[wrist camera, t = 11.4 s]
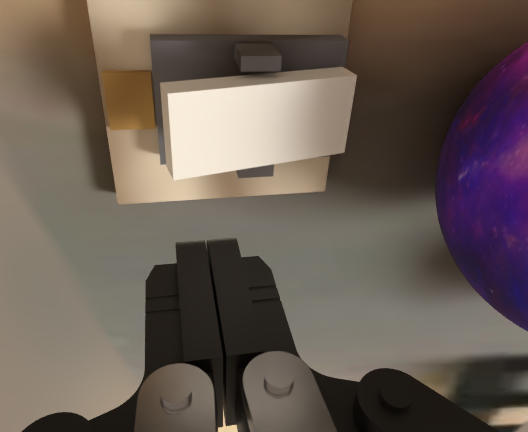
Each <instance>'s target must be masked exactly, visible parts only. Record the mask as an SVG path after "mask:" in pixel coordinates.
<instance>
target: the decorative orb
mask: <svg viewBox="0 0 528 432" xmlns="http://www.w3.org/2000/svg"><path fill="white" fill-rule="evenodd" d="M435 198H436V207H437V214H438V220H439V224H440V228H441V231H442V234H443V237H444V240H445V243H446V245H447V247H448V249H449V252H450V254H451V256H452V258H453V259H454V261H455V263H456V264H457V266H458V268H459V269H460V271H461V272H462V274H463V275H464V276H465V278H466V279H467V281H468V282H469V283H470V284H471V286H472V287H473V288H474V289H475V290H476V291H477V292H478V293H479V295H480V296H481V297H482V298H483V299H484V300H485V301H487V302H488V303H489V304H490V305H491V306H492V307H493V308H494V309H495V310H497V311H498V312H499V313H501V314H502V315H503V316H505V317H506V318H507V319H509V320H510V321H512V322H513V323H515V324H516V325H518V326H519V327H521V328H523V329H524V330H526V331H528V42H526V43H524V44H523V45H522V46H520V47H519V48H517V49H516V50H514V51H513V52H512V53H510V54H509V55H508V56H506V57H505V58H504V59H503V60H502V61H500V62H499V63H498V64H497V65H496V66H495V67H494V68H492V69H491V70H490V71H489V72H488V73H487V74H486V75H485V76H484V77H483V78H482V79H481V80H480V82H479V83H478V84H477V85H476V86H475V88H474V89H473V90H472V91H471V92H470V94H469V95H468V96H467V98H466V99H465V101H464V102H463V104H462V105H461V106H460V108H459V110H458V112H457V113H456V115H455V117H454V119H453V121H452V122H451V124H450V127H449V129H448V131H447V134H446V136H445V139H444V142H443V145H442V148H441V151H440V155H439V160H438V165H437V172H436V182H435Z"/></svg>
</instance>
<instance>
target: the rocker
mask: <svg viewBox="0 0 528 432" xmlns="http://www.w3.org/2000/svg"><path fill="white" fill-rule="evenodd" d="M356 80H357V75H356V74H354V73H352V72H350V71H349V70H347V69H345V68H344V67H333V68H322V69H311V70H299V71H288V72H276V73H265V74H253V75H242V76H230V77H219V78H207V79H196V80H185V81H173V82H162V83H160V90H161V103H162V116H163V128H164V141H165V154H166V167H167V169H168V171H169V173H170V174H171V176H172V178H173V180H180V179H186V178H192V177H198V176H204V175H210V174H217V173H223V172H229V171H235V170H241V169H247V168H254V167H260V166H266V165H272V164H278V163H284V162H290V161H297V160H303V159H309V158H315V157H321V156H327V155H334V154H340V153H344V152H345V146H346V140H347V134H348V128H349V122H350V116H351V110H352V104H353V98H354V92H355V86H356Z"/></svg>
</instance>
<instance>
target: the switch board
mask: <svg viewBox="0 0 528 432" xmlns="http://www.w3.org/2000/svg"><path fill="white" fill-rule="evenodd" d="M352 4H353V0H87V6H88V13H89V19H90V26H91V32H92V39H93V45H94V52H95V58H96V65H97V71H98V78H99V84H100V91H101V97H102V104H103V110H104V117H105V123H106V130H107V136H108V143H109V149H110V156H111V162H112V169H113V175H114V182H115V188H116V195H117V201H118V204H131V203H147V202H163V201H179V200H195V199H211V198H227V197H242V196H258V195H274V194H290V193H306V192H322V191H325V187H326V180H327V173H328V167H329V160H330V156H332V155H327V156H321V157H315V158H309V159H303V160H297V161H290V162H284V163H278V164H272V165H266V166H260V167H254V168H247V169H241V170H235V171H229V172H223V173H217V174H210V175H204V176H198V177H192V178H186V179H180V180H173V178H172V176H171V174H170V173H169V171H168V169H167V167H166V154H165V141H164V128H163V116H162V103H161V90H160V83H162V82H173V81H185V80H196V79H207V78H219V77H230V76H242V75H253V74H265V73H276V72H288V71H299V70H311V69H322V68H333V67H344V68H345V66H346V59H347V52H348V46H349V40H348V39H347V38H348V31H349V25H350V18H351V11H352Z"/></svg>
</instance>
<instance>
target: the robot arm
mask: <svg viewBox="0 0 528 432" xmlns="http://www.w3.org/2000/svg"><path fill="white" fill-rule="evenodd" d="M176 258H177V263H175V264H164V265H155V266H154V268H153V269H152V271H151V273H150V274H149V276H148V278H147V280H146V307H145V313H146V316H145V372H144V377H143V380H142V382H141V384H140V386H139V388H138V389H137V391H136V392H135V393H134V394H133V396H132V397H131V398H130V399H128V400H127V401H126V402H125V403H123V404H122V405H120V406H119V407H117V408H115V409H113V410H111V411H109V412H107V413H104V414H102V415H100V416H98V417H96V418H93V419H91V420H89V421H88V420H87V419H85V418H84V417H83V416H81V415H78V414H75V413H69V412H61V413H54V414H51V415H47V416H45V417H42V418H40V419H39V420H37V421H35V422H33V423H32V424H30V425H29V426H28V427H26V428H25V429H24V430H23V431H22V432H218V427H223V409H224V416H225V424H226V426H230V425H236V424H237V429H238V432H499V431H497V430H496V429H494V428H492V427H491V426H489V425H488V424H486V423H484V422H483V421H481V420H480V419H478V418H477V417H475V416H473V415H472V414H470V413H469V412H467V411H465V410H464V409H462V408H461V407H459V406H458V405H456V404H454V403H453V402H451V401H450V400H448V399H446V398H445V397H443V396H442V395H440V394H439V393H437V392H435V391H434V390H432V389H431V388H429V387H427V386H426V385H424V384H423V383H421V382H420V381H418V380H416V379H415V378H413V377H412V376H410V375H408V374H406V373H404V372H402V371H399V370H395V369H389V368H381V369H375V370H373V371H370V372H369V373H367V374H366V375H365V376H364V377H363V378H362V379H361V381H360V382H356V381H350V380H344V379H337V378H332V377H328V376H325V375H322V374H320V373H318V372H316V371H314V370H313V369H311V368H310V367H309V366H308V365H307V364H306V363H305V362H304V361H303V360H302V359H301V358H300V356H299V354H298V352H297V350H296V347H295V344H294V341H293V338H292V335H291V331H290V328H289V325H288V322H287V319H286V316H285V312H284V309H283V306H282V303H281V301H280V296H279V293H278V290H277V288H276V284H275V281H274V277H273V274H272V271H271V269H270V268H269V267H268V266H267V265H266V263H265V262H264V261H263V260H262V259H261V258H260V257H259V256H253V257H242V258H241V255H240V251H239V246H238V242H237V239H236V238H225V239H212V240H207V250H206V244H205V240H201V241H189V242H176Z"/></svg>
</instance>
